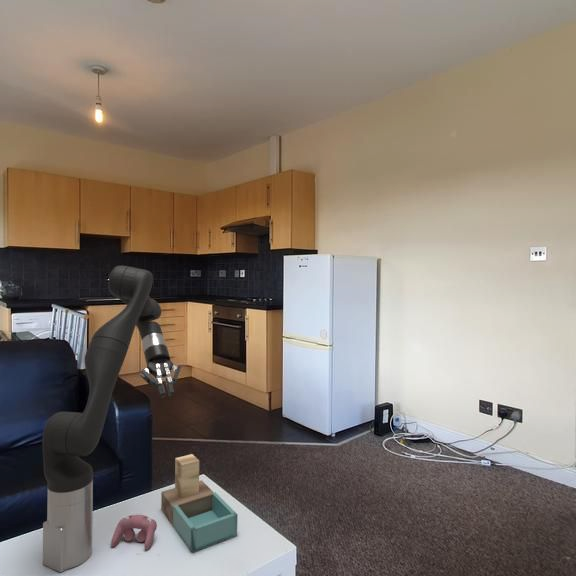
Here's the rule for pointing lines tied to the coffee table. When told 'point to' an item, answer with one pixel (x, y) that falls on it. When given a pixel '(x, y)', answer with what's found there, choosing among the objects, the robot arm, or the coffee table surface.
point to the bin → (206, 525)
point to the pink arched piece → (135, 522)
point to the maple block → (187, 475)
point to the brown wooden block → (187, 502)
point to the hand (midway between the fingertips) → (167, 395)
